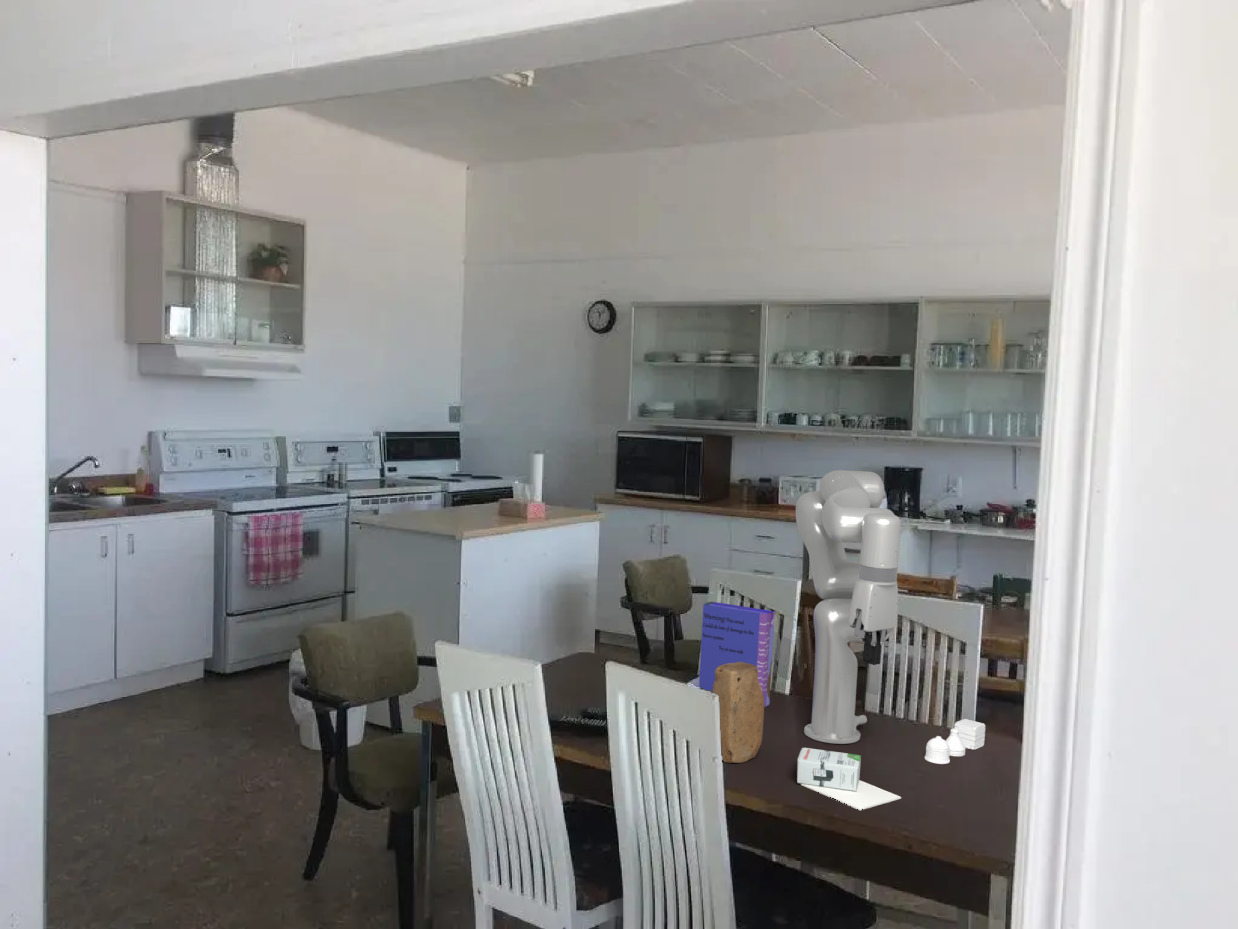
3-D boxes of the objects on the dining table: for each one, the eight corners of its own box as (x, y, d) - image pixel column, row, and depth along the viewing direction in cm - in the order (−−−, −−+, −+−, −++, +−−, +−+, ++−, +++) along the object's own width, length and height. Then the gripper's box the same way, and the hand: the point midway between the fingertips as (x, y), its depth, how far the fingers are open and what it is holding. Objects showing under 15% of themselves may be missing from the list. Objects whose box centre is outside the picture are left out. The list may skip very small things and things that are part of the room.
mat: (841, 774, 215) (841, 773, 215) (901, 798, 203) (901, 797, 203) (800, 784, 208) (801, 783, 208) (859, 810, 196) (859, 809, 196)
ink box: (860, 778, 213) (801, 769, 216) (861, 754, 212) (802, 745, 216) (856, 793, 204) (795, 783, 208) (857, 768, 204) (796, 759, 208)
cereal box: (769, 705, 263) (774, 610, 262) (761, 709, 259) (767, 613, 258) (706, 692, 272) (711, 600, 271) (698, 696, 268) (703, 603, 267)
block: (727, 767, 216) (732, 671, 215) (704, 756, 223) (709, 663, 221) (766, 758, 223) (771, 665, 221) (742, 748, 229) (747, 657, 228)
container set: (962, 741, 242) (964, 718, 241) (984, 747, 238) (986, 723, 238) (920, 760, 227) (921, 735, 227) (942, 766, 224) (944, 741, 223)
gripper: (887, 568, 220) (880, 654, 222) (838, 573, 211) (832, 663, 213) (916, 575, 214) (909, 663, 216) (868, 581, 205) (861, 672, 207)
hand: (871, 662), depth 214 cm, fingers closed
